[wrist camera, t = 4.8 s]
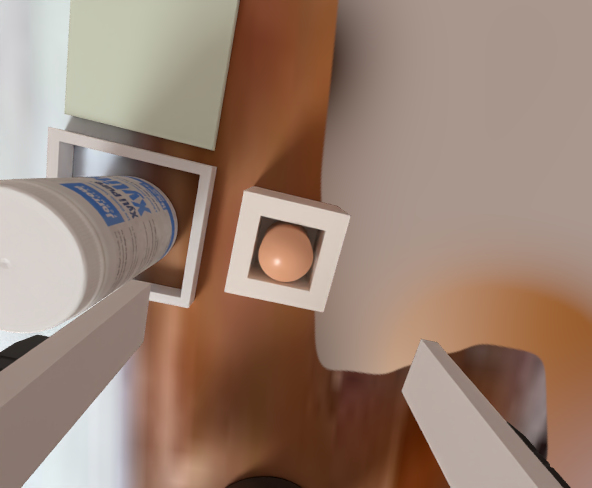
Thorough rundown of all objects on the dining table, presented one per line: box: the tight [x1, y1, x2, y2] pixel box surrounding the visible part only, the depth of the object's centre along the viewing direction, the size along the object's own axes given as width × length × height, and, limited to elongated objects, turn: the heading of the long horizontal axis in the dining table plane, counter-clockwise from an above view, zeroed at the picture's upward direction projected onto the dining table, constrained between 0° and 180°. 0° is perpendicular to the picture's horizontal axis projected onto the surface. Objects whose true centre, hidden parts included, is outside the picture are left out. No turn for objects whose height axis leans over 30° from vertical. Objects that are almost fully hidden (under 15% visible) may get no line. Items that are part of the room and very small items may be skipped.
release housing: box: [224, 186, 351, 312], centre depth 29 cm, size 9×9×7 cm
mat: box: [65, 0, 240, 151], centre depth 27 cm, size 14×14×1 cm
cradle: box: [46, 127, 217, 308], centre depth 31 cm, size 15×15×2 cm
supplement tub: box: [0, 176, 178, 333], centre depth 24 cm, size 10×10×15 cm
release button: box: [259, 220, 313, 282], centre depth 28 cm, size 5×5×5 cm
